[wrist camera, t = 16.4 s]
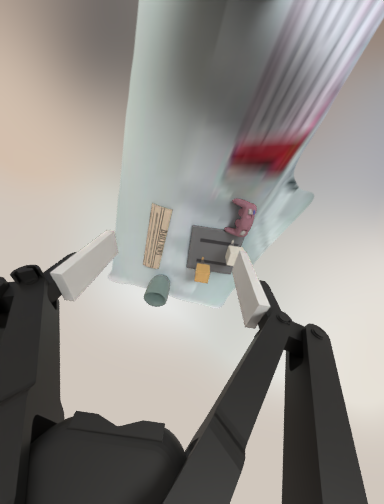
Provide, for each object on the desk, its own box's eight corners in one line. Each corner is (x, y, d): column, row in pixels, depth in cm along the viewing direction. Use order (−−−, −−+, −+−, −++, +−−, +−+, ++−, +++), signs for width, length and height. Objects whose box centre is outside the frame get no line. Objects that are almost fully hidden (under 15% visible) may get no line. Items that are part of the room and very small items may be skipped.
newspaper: (153, 202, 42) (151, 203, 41) (176, 209, 43) (175, 211, 42) (143, 262, 55) (142, 265, 54) (162, 267, 56) (160, 270, 54)
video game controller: (234, 229, 46) (249, 240, 41) (222, 230, 44) (236, 242, 39) (244, 197, 40) (263, 205, 35) (231, 196, 39) (249, 205, 34)
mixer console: (192, 225, 44) (192, 226, 43) (244, 233, 45) (245, 235, 44) (186, 265, 53) (186, 267, 52) (229, 272, 53) (230, 274, 52)
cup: (148, 275, 58) (139, 295, 49) (165, 269, 55) (157, 289, 47) (159, 288, 61) (152, 308, 53) (175, 283, 59) (170, 303, 51)
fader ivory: (227, 238, 44) (230, 253, 38) (239, 240, 44) (246, 255, 38) (223, 249, 47) (226, 265, 40) (235, 251, 47) (241, 267, 40)
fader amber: (197, 255, 49) (196, 271, 42) (209, 257, 49) (209, 273, 42) (195, 264, 51) (194, 281, 44) (207, 266, 51) (207, 283, 44)
